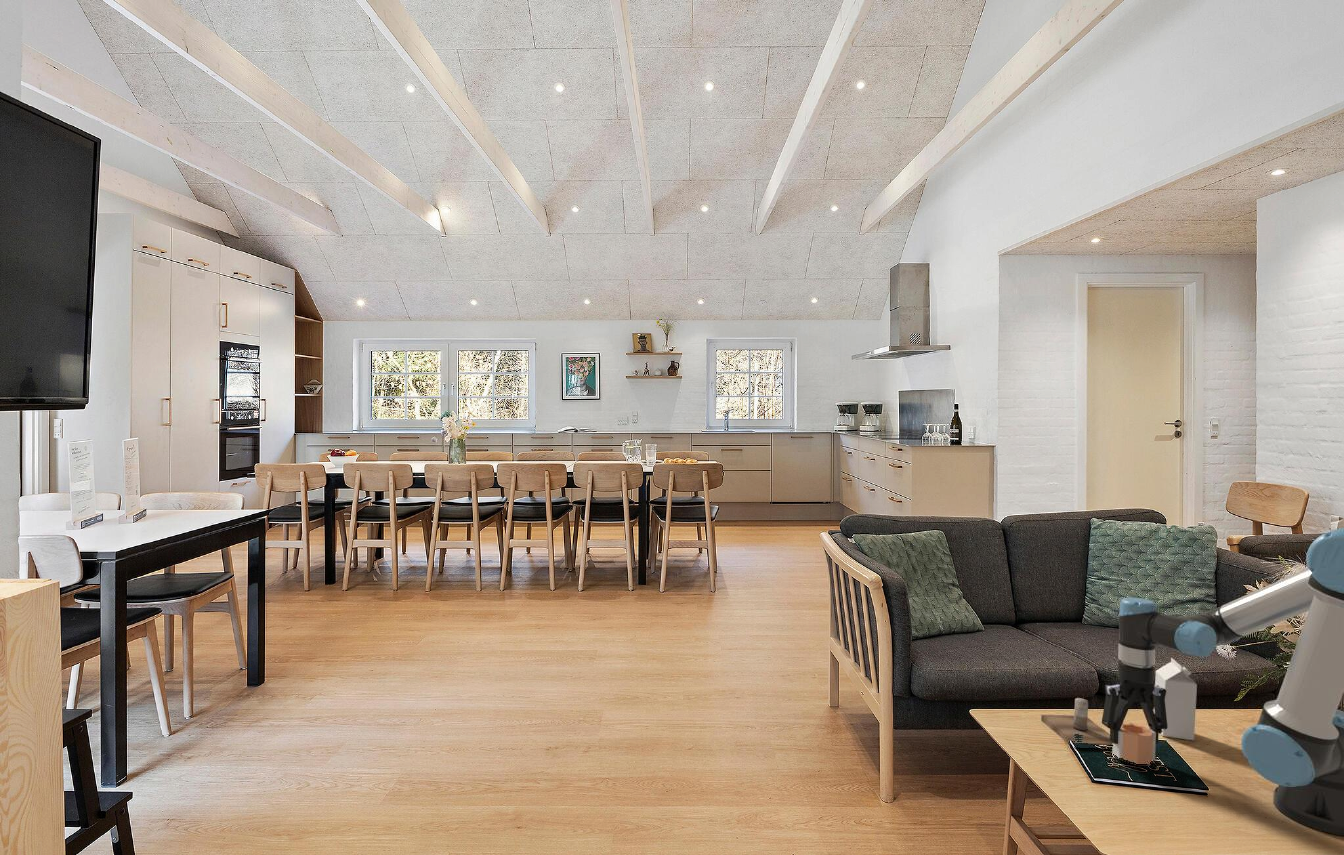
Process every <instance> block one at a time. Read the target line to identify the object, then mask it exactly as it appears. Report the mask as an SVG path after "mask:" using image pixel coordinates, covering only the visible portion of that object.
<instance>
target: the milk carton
mask: <svg viewBox="0 0 1344 855" xmlns="http://www.w3.org/2000/svg"><path fill="white" fill-rule="evenodd" d="M1190 675H1192V672H1191V671H1190V670H1189V669H1187V667H1185V666H1182V665H1181V664H1179V662H1178V661H1176V660H1175V659H1174V658H1172V657H1170V662H1168V663H1166V664H1165V665H1163V666H1161V667H1160V668H1158V669H1155V677H1154V686H1156V685H1158V686H1160V687H1162V688H1164V689H1165V690H1166V696H1165V707H1166V716H1167V726H1168V728H1167V729H1166V730H1165V729H1162V733H1159V734H1160V735H1161V736H1162V737H1168V738H1174V739H1179V740H1180V739H1182V740H1189V741H1195V730H1196V729H1195V727H1196V726H1195V725H1196V709H1197V707H1196V706H1197V691H1198V690H1197V687H1198V685H1197V683H1196V682H1195V681H1194V680H1193V679H1192V678H1191V677H1189V676H1190ZM1153 711H1154V713H1155V710H1154V709H1153Z"/></svg>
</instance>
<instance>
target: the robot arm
mask: <svg viewBox="0 0 1344 855" xmlns="http://www.w3.org/2000/svg"><path fill="white" fill-rule="evenodd" d="M1306 566H1307V568H1304V569H1302V570H1300V571H1298V572H1296V573H1293V574H1291V575H1289V576H1287V577H1284V578H1282V579H1280V580H1277V581H1275V582H1273V583H1271V584H1269V585H1266V586H1263V587H1262V588H1258V589H1257V590H1254V591H1252V592H1250V593H1248V594H1246V595H1243V596H1241V597H1239V598H1237V599H1234V600H1232V601H1229V602H1227V603H1225V604H1223V605H1221V606H1219V607H1216V608H1214V609H1211V610H1209V611H1207V612H1203V613H1200V614H1199V613H1198V614H1193V615H1192V614H1191V615H1187V616H1181V617H1180V616H1175V615H1171V614H1166V613H1162V612H1159V611H1158V609H1157V603H1156V602H1155V601H1153V600H1150V599H1148V598H1142V597H1131V596H1130V597H1125V598H1122V599H1121V600H1120V603H1119V614H1118V652H1117V654H1118V656H1117V657H1118V661H1117V678H1118V680H1117V683H1116V684H1113V685H1110V684H1106V685H1105V686H1104V689H1105V690H1104V691H1105V697H1104V698H1105V700H1104V707H1103V710H1102V711H1103V712H1102V718H1101V724H1102V725H1104V727H1106V728H1108V729H1109V734H1110V741H1111V742H1112V743H1113V747H1112V749H1111V753H1113V754H1114V756H1115V755H1116V756H1117V757H1118V758H1117V757H1116V756H1115V757H1116V758H1117V759H1119V758H1122V755H1123V732H1122V731H1121V730H1120V728H1121V726H1122V724H1123V723H1124V720H1125V719H1126V716H1127V714H1128V712H1129V709H1130V707H1132V706H1133V703H1137V702H1138V703H1139V704H1140V707H1141V710H1142V712H1143V714H1144V715H1143V716H1144V717H1145V720H1146V724H1147V726H1148V727H1147V728H1148V729H1149V730H1151V731H1152V732H1153V759H1152V760H1156V745H1158V744H1159V734H1160V733H1162V729H1165V730H1166V729H1167V728H1168V726H1167V716H1166V707H1165V696H1166V690H1165V689H1164V688H1162V687H1160V686H1158V685H1156V686H1155V684H1154V683H1155V678H1156V668H1155V667H1154V666H1155V664H1156V645H1157V646H1160V647H1163V648H1166V649H1170V650H1173V651H1176V652H1179V653H1183V654H1186V655H1188V656H1195V657H1200V658H1207V657H1209V656H1210V655H1211V654H1212V653H1213V652H1214V651H1215V648H1216V647H1218V646H1226V645H1230V644H1234V643H1235V642H1238V641H1239V640H1240V639H1241V638H1244V637H1245V636H1248V635H1250V634H1253V633H1256V632H1258V631H1260V630H1263V629H1266V628H1268V627H1271V626H1274V625H1276V624H1279V623H1281V622H1284V621H1286V620H1289V619H1292V618H1294V617H1297V616H1299V615H1301V614H1304V613H1307V614H1306V618H1305V619H1304V624H1303V625H1302V629H1301V631H1300V635H1299V637H1298V639H1297V640H1298V641H1297V643H1296V645H1295V648H1294V651H1293V654H1292V656H1291V659H1290V662H1289V665H1288V667H1287V671H1286V673H1285V676H1284V679H1283V682H1282V684H1281V687H1280V690H1279V693H1278V695H1277V698H1276V699H1274V700H1269V701H1266V702H1265V703H1264V705H1263V707H1262V710H1261V712H1260V716H1259V717H1258V718H1259V719H1258V721H1257V723H1256V724H1255V725H1251V726H1250V727H1249V728H1248V729H1246V730H1245V731H1244V732H1243V734H1242V736H1241V743H1240V744H1241V750H1242V754H1243V756H1244V758H1246V760H1247V761H1248V763H1249V765H1250V766H1251V767H1252V769H1253V770H1254V771H1255V772H1256V773H1258V775H1260V776H1261V777H1263V778H1264V779H1266V780H1267V781H1269V782H1270V783H1272V784H1276V785H1277V787H1275V789H1274V791H1273V797H1272V798H1273V799H1272V800H1273V803H1272V804H1273V805H1274V807H1275V808H1276V809H1277V810H1278V811H1279V812H1281V813H1282V814H1283V815H1284V816H1286V817H1288V818H1290V819H1291V820H1293V821H1296V822H1298V823H1299V824H1301V825H1304V826H1306V827H1309V828H1311V829H1314V830H1318V831H1320V832H1324V833H1328V834H1331V835H1335V836H1336V835H1337V836H1343V837H1344V711H1343V710H1340V709H1338V707H1339V705H1340V703H1341V700H1342V697H1343V694H1344V527H1340V528H1339V527H1338V528H1337V529H1333V530H1330V531H1327V532H1325V533H1323V534H1321V535H1320V536H1318V537H1317V538H1315V539H1314V540H1313V541H1312V543H1311V544H1310V545H1309V547H1308V550H1307V552H1306ZM1238 636H1239V637H1238ZM1119 692H1120V693H1119ZM1151 695H1152V699H1153V702H1152V700H1151ZM1117 701H1118V702H1117ZM1154 710H1155V713H1154Z"/></svg>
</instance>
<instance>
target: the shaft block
mask: <svg viewBox="0 0 1344 855" xmlns="http://www.w3.org/2000/svg"><path fill="white" fill-rule="evenodd" d="M1073 712H1074V715H1066V714H1065V715H1059V714H1056V715H1053V714H1041V715H1040V716H1041V718H1040V719H1041V721H1042V722H1043V723H1044V724H1045V725H1046V726H1047V727H1049V729H1050V730H1052V731H1053V732H1055V733H1056V734H1057V735H1058V736H1059V737H1061V738H1062V739H1063V740H1064V741H1065V742H1067V743H1068V744H1069V745H1070V743H1069V741H1070V740H1071V741H1073V742H1074V741H1075V742H1074V743H1088V744H1096V745H1113V743H1112V742H1111V741H1110V732H1107V731H1106V730H1105V729H1104V728H1102V727H1101V726H1099V725H1098V724H1097V723H1096V722H1094V721H1093V720H1092V719H1090V718H1088V717H1089V716H1088V714H1089V700H1087V699H1084V698H1082V697H1081V698H1080V697H1077V698H1075V699H1074V711H1073ZM1075 734H1079V735H1083V736H1081V737H1083V738H1079V739H1082V740H1079V741H1082V742H1077V741H1078V740H1075V739H1078V738H1075V737H1076V736H1074V735H1075Z"/></svg>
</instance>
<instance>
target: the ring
mask: <svg viewBox="0 0 1344 855" xmlns="http://www.w3.org/2000/svg"><path fill="white" fill-rule="evenodd" d="M1148 728H1149V727H1146V726H1144V725H1139V724H1136V723H1132V722H1123V724H1122V726H1121V728H1120V730H1121V731H1122V732H1123V755H1122V758H1123V759H1124V760H1128V761H1130V762H1134V763H1136V764H1150V762H1151V761H1152V762H1153V760H1154V759H1153V732H1152V731H1151V730H1149V729H1150V728H1149V729H1148ZM1152 762H1151V763H1152ZM1136 764H1135V765H1136ZM1150 765H1151V764H1150Z"/></svg>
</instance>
